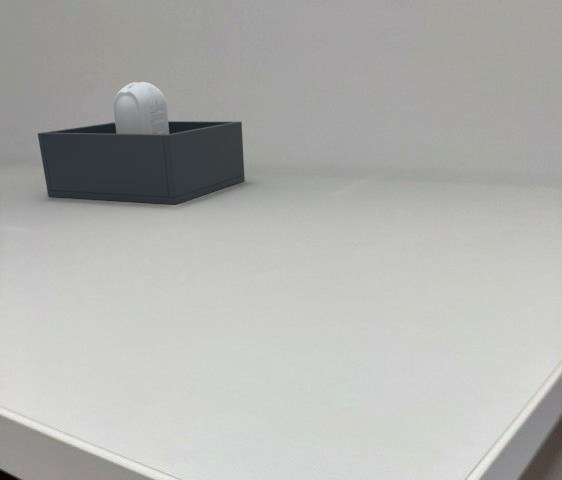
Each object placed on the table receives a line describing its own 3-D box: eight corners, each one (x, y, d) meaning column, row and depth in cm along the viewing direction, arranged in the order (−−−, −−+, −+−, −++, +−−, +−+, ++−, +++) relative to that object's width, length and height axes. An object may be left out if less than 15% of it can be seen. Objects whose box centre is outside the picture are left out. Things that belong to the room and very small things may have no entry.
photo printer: (148, 176, 97) (138, 81, 92) (177, 176, 96) (168, 80, 91) (118, 188, 88) (105, 84, 83) (149, 189, 87) (138, 83, 82)
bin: (48, 196, 89) (37, 133, 86) (130, 175, 103) (123, 120, 100) (175, 204, 81) (168, 135, 78) (244, 181, 95) (241, 121, 92)
